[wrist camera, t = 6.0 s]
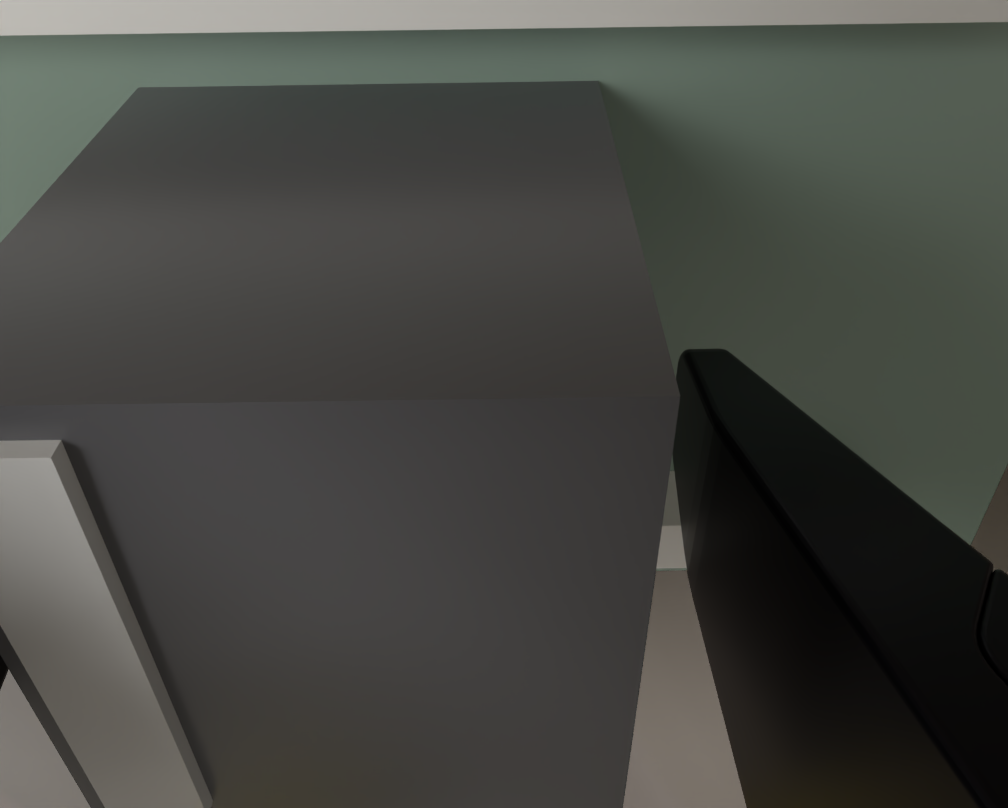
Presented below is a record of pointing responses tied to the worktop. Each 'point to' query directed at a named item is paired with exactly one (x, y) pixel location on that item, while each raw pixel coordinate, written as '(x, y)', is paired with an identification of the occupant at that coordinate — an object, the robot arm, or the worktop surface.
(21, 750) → the worktop surface
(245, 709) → the dark grey cube
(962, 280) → the header board
